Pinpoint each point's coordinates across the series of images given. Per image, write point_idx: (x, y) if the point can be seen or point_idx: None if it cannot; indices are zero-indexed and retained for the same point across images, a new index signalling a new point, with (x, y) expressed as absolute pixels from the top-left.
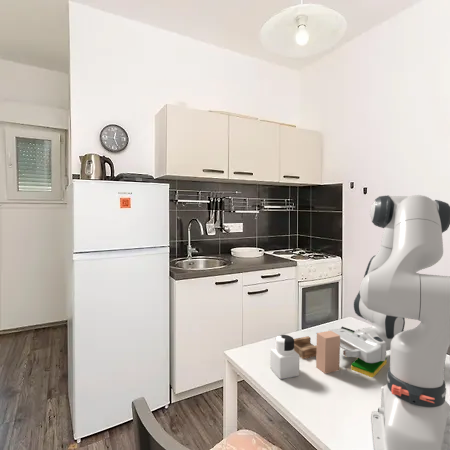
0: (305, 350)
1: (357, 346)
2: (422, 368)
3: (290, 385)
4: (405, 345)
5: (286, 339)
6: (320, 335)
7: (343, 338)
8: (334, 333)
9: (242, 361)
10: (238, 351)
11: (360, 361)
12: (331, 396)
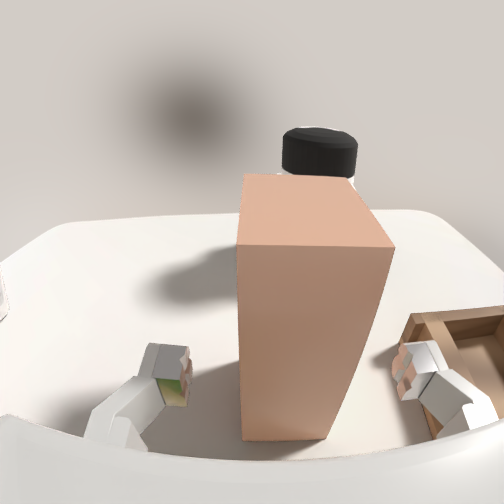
0: (427, 332)
1: (115, 454)
2: None
3: (234, 244)
4: None
5: (299, 128)
6: (303, 176)
7: (382, 464)
8: (310, 235)
9: (386, 216)
10: (439, 225)
11: None
12: (122, 292)
